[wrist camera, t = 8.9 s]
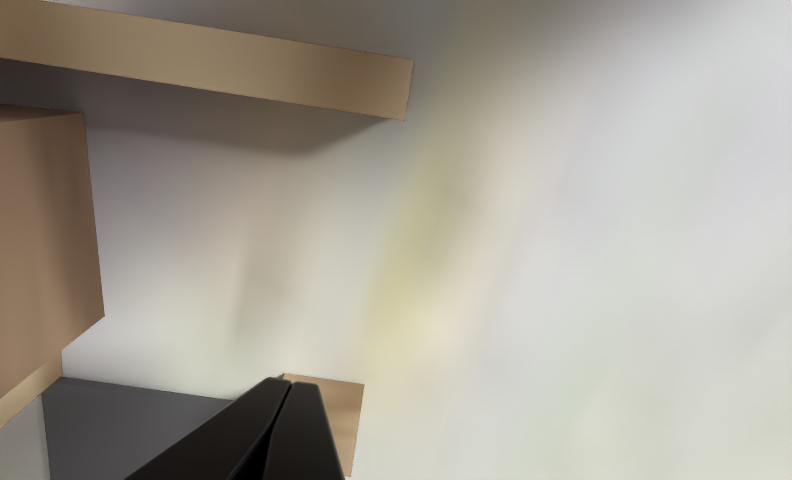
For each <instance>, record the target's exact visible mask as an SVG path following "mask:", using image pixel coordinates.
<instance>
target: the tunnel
mask: <svg viewBox="0 0 792 480" xmlns="http://www.w3.org/2000/svg"><path fill="white" fill-rule="evenodd" d="M0 58H7V59H13V60H19V61H26V62H32V63H39V64H45V65H51V66H58V67H64V68H71V69H77V70H84V71H90V72H96V73H103V74H109V75H116V76H122V77H128V78H135V79H141V80H148V81H154V82H160V83H167V84H173V85H180V86H186V87H192V88H199V89H205V90H212V91H218V92H225V93H231V94H237V95H244V96H250V97H257V98H263V99H269V100H276V101H282V102H289V103H295V104H301V105H308V106H314V107H321V108H327V109H333V110H340V111H346V112H353V113H359V114H365V115H372V116H378V117H385V118H391V119H398V120H404V121H405V117H406V110H407V104H408V97H409V90H410V84H411V77H412V71H413V64H414V60H411V59H405V58H398V57H392V56H386V55H380V54H373V53H367V52H361V51H355V50H348V49H342V48H336V47H329V46H323V45H317V44H311V43H304V42H298V41H292V40H286V39H279V38H273V37H267V36H260V35H254V34H248V33H242V32H235V31H229V30H223V29H217V28H210V27H204V26H198V25H191V24H185V23H179V22H173V21H166V20H160V19H154V18H148V17H141V16H135V15H129V14H123V13H116V12H110V11H104V10H97V9H91V8H85V7H79V6H72V5H66V4H60V3H54V2H47V1H41V0H0ZM61 375H63V373H62V362H61V351H60V352H58V353H57V354H56V355H55V356H53V357H52V358H51V359H50V360H48V361H47V362H46V363H45V364H43V365H42V366H41V367H40V368H38V369H37V370H36V371H35V372H33V373H32V374H31V375H30V376H28V377H27V378H26V379H25V380H23V381H22V382H21V383H20V384H18V385H17V386H16V387H15V388H13V389H12V390H11V391H10V392H8V393H7V394H6V395H5V396H3V397H2V398H1V399H0V428H2V427H3V426H4V425H5V424H6V423H7V422H8V421H10V420H11V419H12V418H13V417H14V416H15V415H17V414H18V413H19V412H20V411H21V410H22V409H23V408H25V407H26V406H27V405H28V404H29V403H30V402H32V401H33V400H34V399H35V398H36V397H37V396H38V395H40V394H41V393H42V392H43V391H44V390H45V389H46V388H48V387H49V386H50V385H51V384H52V383H53V382H55V381H56V380H57V379H58V378H59V377H60V376H61ZM283 379H288V380H291V381H292V384H293V383H294V382H295V381H302V382H309V383H316V384H318V386H319V388H320V391H321V394H322V398H323V402H324V405H325V409H326V412H327V416H328V420H329V423H330V427H331V430H332V434H333V437H334V441H335V445H336V448H337V452H338V455H339V459H340V462H341V466H342V470H343V473H344V476H347V477H351V472H352V465H353V459H354V452H355V446H356V439H357V432H358V425H359V418H360V411H361V403H362V396H363V389H364V385H363V384H356V383H349V382H342V381H335V380H328V379H321V378H313V377H306V376H299V375H292V374H285V375H284V377H283Z"/></svg>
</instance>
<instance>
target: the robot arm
mask: <svg viewBox="0 0 792 480" xmlns="http://www.w3.org/2000/svg"><path fill="white" fill-rule="evenodd" d="M123 480H345V477H344V473H343V470H342V466H341V462H340V459H339V455H338V452H337V448H336V445H335V441H334V437H333V434H332V430H331V427H330V423H329V420H328V416H327V412H326V409H325V405H324V402H323V398H322V394H321V391H320V388H319V386H318V384H316V383H309V382H302V381H295V382H294V383H293V384H292V381H291V380H288V379H281V378H274V377H268V378H266V379H264V380H263V381H261V382H260V383H258V384H257V385H256V386H254V387H253V388H251V389H250V390H249V391H247V392H246V393H244V394H243V395H241V396H240V397H239V398H237V399H236V400H234V401H233V402H232V403H230V404H229V405H227V406H226V407H224V408H223V409H222V410H220V411H219V412H217V413H216V414H215V415H213V416H212V417H210V418H209V419H207V420H206V421H205V422H203V423H202V424H200V425H199V426H198V427H196V428H195V429H193V430H192V431H191V432H189V433H188V434H186V435H185V436H183V437H182V438H181V439H179V440H178V441H176V442H175V443H174V444H172V445H171V446H169V447H168V448H166V449H165V450H164V451H162V452H161V453H159V454H158V455H157V456H155V457H154V458H152V459H151V460H149V461H148V462H147V463H145V464H144V465H142V466H141V467H140V468H138V469H137V470H135V471H134V472H133V473H131V474H130V475H128V476H127V477H125V478H124V479H123Z"/></svg>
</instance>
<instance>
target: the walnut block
mask: <svg viewBox="0 0 792 480" xmlns="http://www.w3.org/2000/svg"><path fill="white" fill-rule="evenodd" d="M104 316H105V315H104V305H103V296H102V286H101V276H100V266H99V257H98V247H97V237H96V228H95V218H94V208H93V198H92V189H91V179H90V169H89V160H88V150H87V140H86V130H85V121H84V113H80V112H71V111H62V110H53V109H44V108H35V107H25V106H16V105H7V104H0V399H1V398H2V397H3V396H5V395H6V394H7V393H8V392H10V391H11V390H12V389H13V388H15V387H16V386H17V385H18V384H20V383H21V382H22V381H23V380H25V379H26V378H27V377H28V376H30V375H31V374H32V373H33V372H35V371H36V370H37V369H38V368H40V367H41V366H42V365H43V364H45V363H46V362H47V361H48V360H50V359H51V358H52V357H53V356H55V355H56V354H57V353H58V352H60V351H61V350H62V349H63V348H65V347H66V346H67V345H68V344H70V343H71V342H72V341H74V340H75V339H76V338H77V337H79V336H80V335H81V334H82V333H84V332H85V331H86V330H87V329H89V328H90V327H91V326H92V325H94V324H95V323H96V322H97V321H99V320H100V319H101V318H102V317H104Z"/></svg>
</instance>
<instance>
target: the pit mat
mask: <svg viewBox="0 0 792 480" xmlns="http://www.w3.org/2000/svg"><path fill="white" fill-rule="evenodd" d="M42 402H43V411H44V420H45V429H46V439H47V448H48V457H49V466H50V476H51V480H123V479H124V478H125V477H127V476H128V475H130V474H131V473H133V472H134V471H135V470H137V469H138V468H140V467H141V466H142V465H144V464H145V463H147V462H148V461H149V460H151V459H152V458H154V457H155V456H157V455H158V454H159V453H161V452H162V451H164V450H165V449H166V448H168V447H169V446H171V445H172V444H174V443H175V442H176V441H178V440H179V439H181V438H182V437H183V436H185V435H186V434H188V433H189V432H191V431H192V430H193V429H195V428H196V427H198V426H199V425H200V424H202V423H203V422H205V421H206V420H207V419H209V418H210V417H212V416H213V415H215V414H216V413H217V412H219V411H220V410H222V409H223V408H224V407H226V406H227V405H229V404H230V403H232V402H233V401H231V400H224V399H217V398H209V397H202V396H195V395H188V394H181V393H173V392H166V391H159V390H152V389H145V388H138V387H130V386H123V385H116V384H109V383H102V382H94V381H87V380H80V379H73V378H66V377H59V378H58V379H57V380H56V381H55V382H53V383H52V384H51V385H50V386H49V387H48V388H46V389H45V390H44V391H43V392H42Z"/></svg>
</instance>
